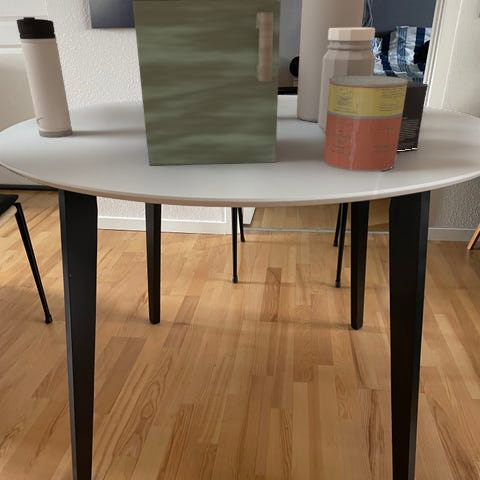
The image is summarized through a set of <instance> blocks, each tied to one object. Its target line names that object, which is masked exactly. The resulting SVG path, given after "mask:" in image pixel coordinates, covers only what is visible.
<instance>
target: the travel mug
mask: <svg viewBox="0 0 480 480" xmlns="http://www.w3.org/2000/svg"><path fill="white" fill-rule="evenodd" d="M16 25H17V30H18V31H17V32H18V33H19V41H20V47H21V52H22V56H23V60H24V66H25V71H26V74H27V81H28V85H29V91H30V95H31V99H32V105H33V109H34V115H35V120H36V124H37V127H38V128H37V129H38V134H39V136H40V137H41V138H63V137H62V136H64V137H68V136H71V135H73V128H72V122H71V115H70V111H69V109H70V108H69V103H68V98H67V92H66V88H65V86H66V85H65V81H64V75H63V69H62V65H61V57H60V51H59V46H58V42H57V35H56V31H55V25H54V21H53V20H51V19H43V18H42V19H41V18H35V16H23V17H22V18H18V19H16ZM67 135H68V136H67Z"/></svg>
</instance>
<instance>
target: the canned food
mask: <svg viewBox="0 0 480 480" xmlns="http://www.w3.org/2000/svg"><path fill="white" fill-rule="evenodd" d="M408 81H409V80H408V79H407V78H402V77H399V76H398V77H397V76H387V75H373V76H340V77H333V78H330V79H329V82H330V85H329V98H328V110H327V122H326V133H325V135H324V136H325V137H324V147H323V159H322V163H323V164H324V165H325V166H327V167H330V168H332V169H335V170H340V171H345V172H355V173H356V172H357V173H358V172H359V173H372V172H373V173H375V172H384V171H383V170H385V171H388V170H387V169H389V168H391V167H393V166H394V165H395V166H396V158H397V153H398V152H397V146H398V139H399V133H400V126H401V120H402V113H403V107H404V101H405V94H406V88H407V83H408ZM395 166H394V167H395ZM394 167H393V168H394ZM389 170H390V169H389Z"/></svg>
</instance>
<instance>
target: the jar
mask: <svg viewBox="0 0 480 480" xmlns="http://www.w3.org/2000/svg"><path fill="white" fill-rule="evenodd" d="M375 33H376V28H375V27H363V26H362V27H348V28H329V31H328V40H330V45H328V46H327V48H328V49H329V50H328V51H327V52H326V54H325V55H324V57H323V62H322V76H321V90H320V104H319V118H318V122H317V125H318V127H319V129H320V130H321V132H322V133H325V134H326V122H327V110H328V98H329V85H330V82H329V79H330V78H333V77H340V76H375V75H374V74H375V67H376V60H377V59H376V56H375V54H374V52H373V51H372V49H373V48H374V45H373V44H372V41H374V40H375V36H376V35H375Z"/></svg>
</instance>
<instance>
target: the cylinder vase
mask: <svg viewBox="0 0 480 480" xmlns="http://www.w3.org/2000/svg"><path fill="white" fill-rule="evenodd" d="M301 1H302V2H301V3H302V4H301V17H300V19H301V20H300V39H299V41H300V42H299V56H298V57H299V58H298V59H299V61H298V77H297V78H298V79H297V100H296V116H297V118H298V119H299V120H302V121H305V122H311V123H318V118H319V104H320V90H321V76H322V62H323V57H324V55H325V54H326V52H327V51H328V50H329V49H328V48H327V46H328V45H330V40H328V31H329V28H348V27H362V28H363V19H364V9H365V2H366V1H365V0H301Z"/></svg>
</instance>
